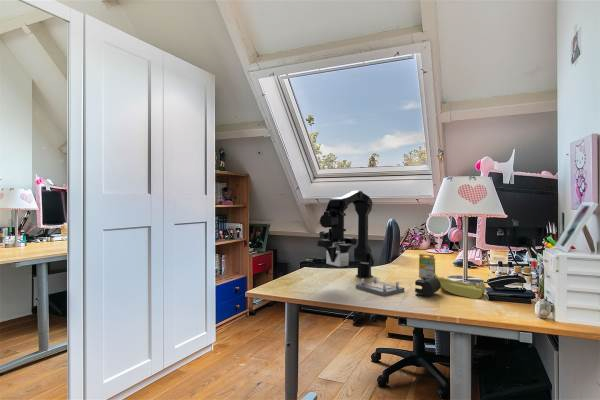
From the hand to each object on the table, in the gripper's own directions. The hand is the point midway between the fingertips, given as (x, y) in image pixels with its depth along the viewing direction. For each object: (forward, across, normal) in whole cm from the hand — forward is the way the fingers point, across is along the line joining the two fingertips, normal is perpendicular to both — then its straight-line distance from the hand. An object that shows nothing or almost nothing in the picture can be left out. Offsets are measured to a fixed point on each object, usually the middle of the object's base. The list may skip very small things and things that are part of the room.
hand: (337, 261), depth 162 cm
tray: (+11, -12, +14) cm, 22 cm away
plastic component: (+12, -36, +36) cm, 53 cm away
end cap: (+12, -22, +31) cm, 40 cm away
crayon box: (+12, -51, +11) cm, 53 cm away
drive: (+1, 0, 0) cm, 1 cm away
